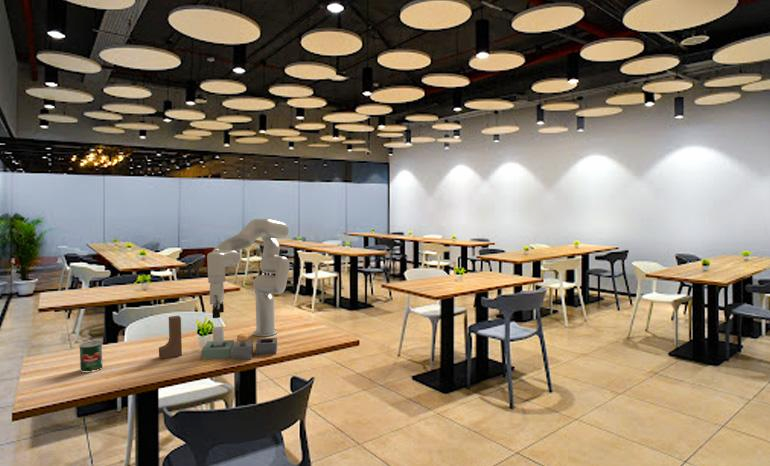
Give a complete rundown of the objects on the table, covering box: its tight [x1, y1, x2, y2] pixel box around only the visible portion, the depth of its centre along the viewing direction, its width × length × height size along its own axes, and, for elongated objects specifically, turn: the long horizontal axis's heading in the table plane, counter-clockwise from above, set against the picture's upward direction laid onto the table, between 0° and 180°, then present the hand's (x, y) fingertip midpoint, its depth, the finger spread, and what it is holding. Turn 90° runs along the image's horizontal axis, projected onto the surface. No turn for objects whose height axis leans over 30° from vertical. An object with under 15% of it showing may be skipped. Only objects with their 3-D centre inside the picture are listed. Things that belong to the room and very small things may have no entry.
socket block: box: [255, 337, 278, 356], centre depth 216 cm, size 9×9×5 cm
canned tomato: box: [79, 340, 103, 371], centre depth 193 cm, size 8×8×11 cm
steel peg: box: [212, 326, 225, 347], centre depth 213 cm, size 4×4×12 cm
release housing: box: [232, 340, 254, 361], centre depth 209 cm, size 8×8×6 cm
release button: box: [236, 333, 250, 345], centre depth 208 cm, size 5×5×9 cm
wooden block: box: [158, 315, 183, 360], centre depth 209 cm, size 9×4×18 cm, turn 125°
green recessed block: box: [201, 339, 235, 360], centre depth 213 cm, size 14×12×4 cm
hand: (218, 315), depth 213 cm, fingers open, 9 cm apart
